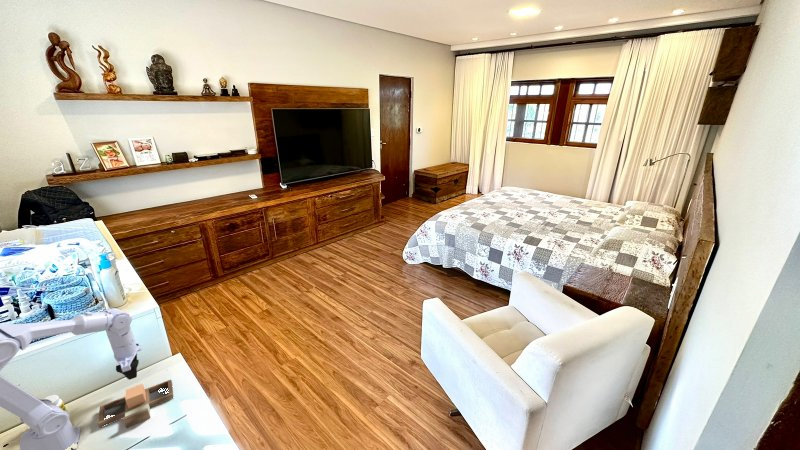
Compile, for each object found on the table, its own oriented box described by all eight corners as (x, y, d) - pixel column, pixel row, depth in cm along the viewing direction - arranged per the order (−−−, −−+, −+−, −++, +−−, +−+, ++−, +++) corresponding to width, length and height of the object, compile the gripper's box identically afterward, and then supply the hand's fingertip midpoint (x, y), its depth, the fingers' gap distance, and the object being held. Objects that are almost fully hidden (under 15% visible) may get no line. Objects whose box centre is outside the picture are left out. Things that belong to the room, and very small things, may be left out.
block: (128, 408, 101) (125, 400, 99) (128, 398, 104) (125, 389, 102) (145, 401, 103) (142, 393, 102) (145, 391, 106) (142, 383, 105)
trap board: (98, 439, 93) (94, 431, 92) (101, 410, 101) (98, 401, 100) (174, 407, 104) (172, 399, 103) (172, 383, 112) (170, 375, 111)
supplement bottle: (54, 427, 95) (44, 409, 92) (42, 423, 96) (32, 405, 93) (72, 413, 100) (64, 395, 96) (61, 409, 100) (51, 391, 97)
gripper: (138, 351, 98) (147, 381, 103) (138, 323, 108) (147, 352, 113) (108, 360, 94) (120, 391, 99) (111, 331, 104) (122, 360, 109)
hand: (133, 371), depth 106 cm, fingers open, 5 cm apart
